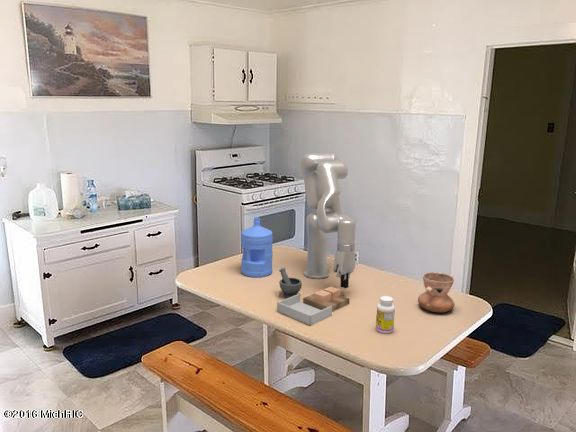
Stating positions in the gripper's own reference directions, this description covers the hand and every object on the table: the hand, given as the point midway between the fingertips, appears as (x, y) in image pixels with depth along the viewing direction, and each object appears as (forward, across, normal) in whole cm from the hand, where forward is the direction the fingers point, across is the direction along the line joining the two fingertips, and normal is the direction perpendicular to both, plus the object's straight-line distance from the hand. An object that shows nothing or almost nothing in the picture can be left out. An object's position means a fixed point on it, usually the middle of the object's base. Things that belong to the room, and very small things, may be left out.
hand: (344, 287), depth 215 cm
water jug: (+4, +7, -50) cm, 50 cm away
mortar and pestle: (+4, +17, -18) cm, 25 cm away
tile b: (+2, +14, 0) cm, 14 cm away
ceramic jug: (+5, -18, +34) cm, 39 cm away
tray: (+4, +26, 0) cm, 26 cm away
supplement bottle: (+5, +15, +30) cm, 34 cm away
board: (+4, +12, 0) cm, 13 cm away
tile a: (+2, +8, 0) cm, 9 cm away
